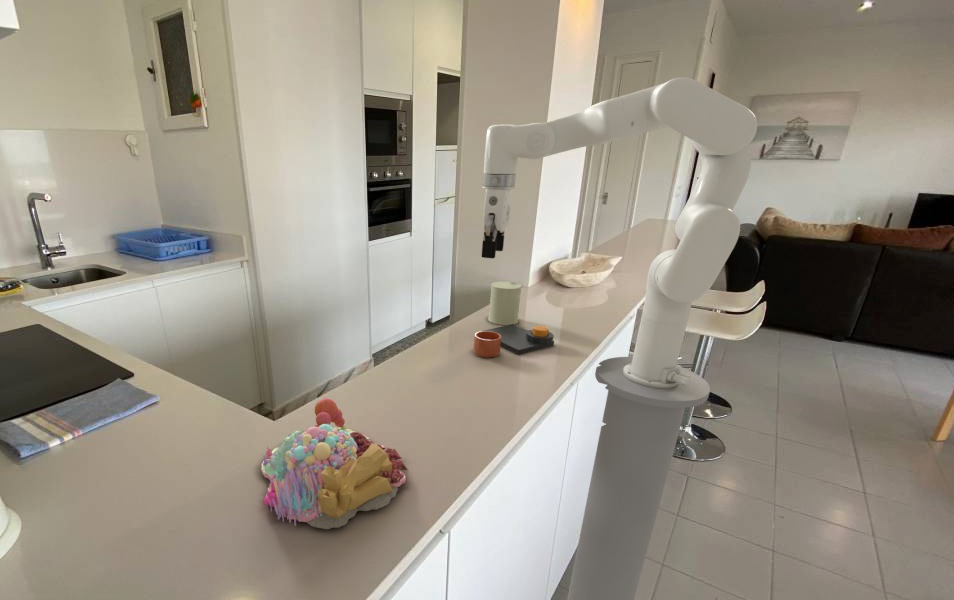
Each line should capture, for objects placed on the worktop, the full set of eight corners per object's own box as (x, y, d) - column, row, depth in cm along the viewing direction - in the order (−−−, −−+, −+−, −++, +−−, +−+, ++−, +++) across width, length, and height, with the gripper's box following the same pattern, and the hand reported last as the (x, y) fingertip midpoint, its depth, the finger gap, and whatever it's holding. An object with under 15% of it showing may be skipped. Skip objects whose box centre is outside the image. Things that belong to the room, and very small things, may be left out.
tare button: (550, 336, 131) (551, 329, 130) (540, 338, 129) (541, 331, 128) (539, 331, 134) (540, 324, 133) (529, 334, 132) (530, 327, 131)
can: (524, 321, 150) (528, 284, 145) (504, 327, 145) (507, 288, 140) (502, 313, 157) (505, 278, 152) (482, 319, 152) (484, 282, 147)
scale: (557, 345, 131) (558, 335, 130) (519, 355, 125) (520, 344, 124) (515, 327, 144) (516, 318, 143) (478, 335, 138) (479, 326, 137)
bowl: (505, 355, 125) (506, 337, 123) (484, 360, 122) (486, 342, 120) (487, 346, 131) (489, 329, 129) (468, 351, 128) (469, 333, 126)
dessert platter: (432, 472, 79) (434, 424, 76) (329, 558, 63) (326, 501, 59) (328, 421, 94) (325, 379, 91) (222, 480, 78) (215, 431, 74)
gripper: (508, 184, 104) (500, 262, 111) (520, 180, 119) (513, 249, 125) (474, 183, 107) (469, 259, 114) (490, 179, 122) (485, 247, 128)
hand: (492, 254), depth 119 cm, fingers open, 9 cm apart
